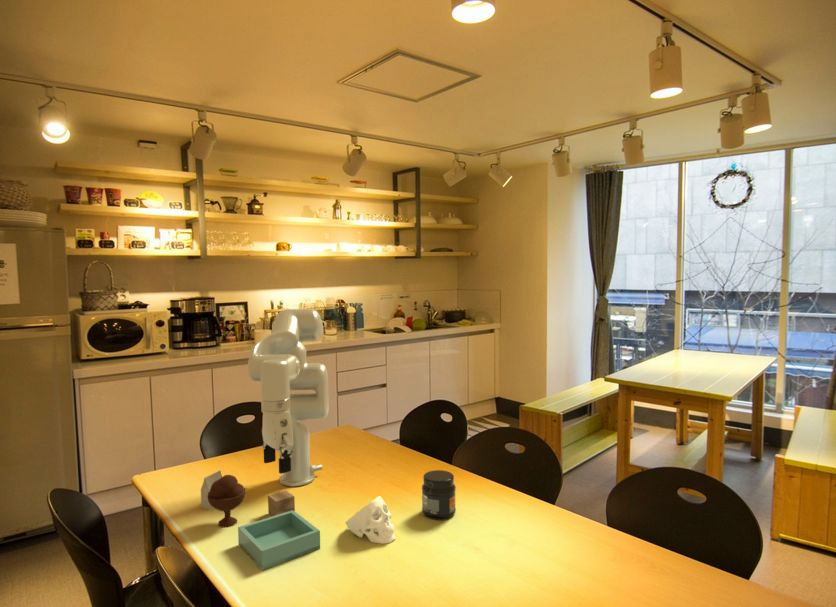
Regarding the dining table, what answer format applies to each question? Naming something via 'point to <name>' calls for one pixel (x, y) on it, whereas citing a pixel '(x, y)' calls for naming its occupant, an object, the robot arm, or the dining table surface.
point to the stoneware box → (278, 539)
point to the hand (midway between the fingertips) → (277, 467)
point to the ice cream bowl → (226, 497)
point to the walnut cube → (280, 503)
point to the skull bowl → (373, 522)
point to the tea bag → (208, 489)
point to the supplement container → (438, 495)
